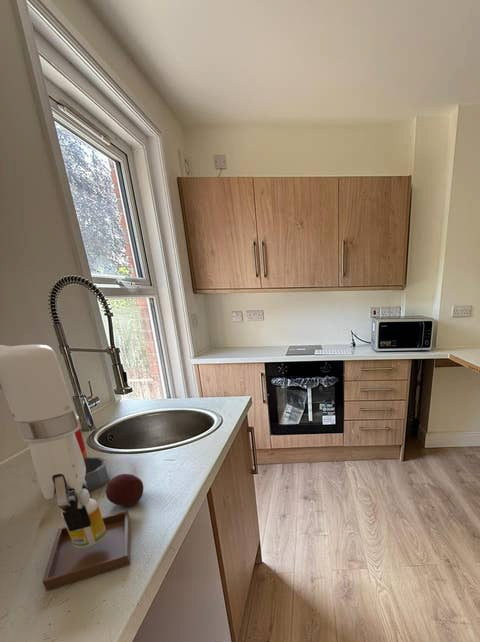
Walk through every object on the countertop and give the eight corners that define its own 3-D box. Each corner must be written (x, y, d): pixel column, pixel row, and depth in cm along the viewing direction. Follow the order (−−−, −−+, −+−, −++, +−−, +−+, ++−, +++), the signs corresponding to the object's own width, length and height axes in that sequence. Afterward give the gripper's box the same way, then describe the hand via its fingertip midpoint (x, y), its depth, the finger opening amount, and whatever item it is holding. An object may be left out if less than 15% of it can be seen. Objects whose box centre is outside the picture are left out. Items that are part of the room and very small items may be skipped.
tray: (46, 591, 57) (42, 581, 56) (61, 536, 69) (58, 528, 68) (130, 564, 62) (127, 555, 61) (130, 518, 74) (128, 510, 73)
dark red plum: (130, 489, 85) (123, 464, 82) (153, 498, 81) (146, 472, 78) (100, 505, 79) (92, 478, 76) (123, 515, 75) (115, 487, 72)
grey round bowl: (51, 500, 81) (45, 484, 79) (60, 478, 91) (54, 463, 89) (108, 487, 86) (103, 471, 84) (110, 468, 95) (106, 453, 94)
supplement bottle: (104, 525, 68) (90, 482, 64) (109, 539, 64) (95, 494, 60) (71, 538, 65) (54, 493, 61) (75, 553, 61) (57, 507, 57)
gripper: (32, 413, 61) (65, 500, 68) (3, 450, 47) (47, 555, 54) (82, 406, 64) (109, 490, 71) (69, 438, 50) (103, 539, 57)
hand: (82, 517), depth 62 cm, fingers closed on supplement bottle, 5 cm apart
